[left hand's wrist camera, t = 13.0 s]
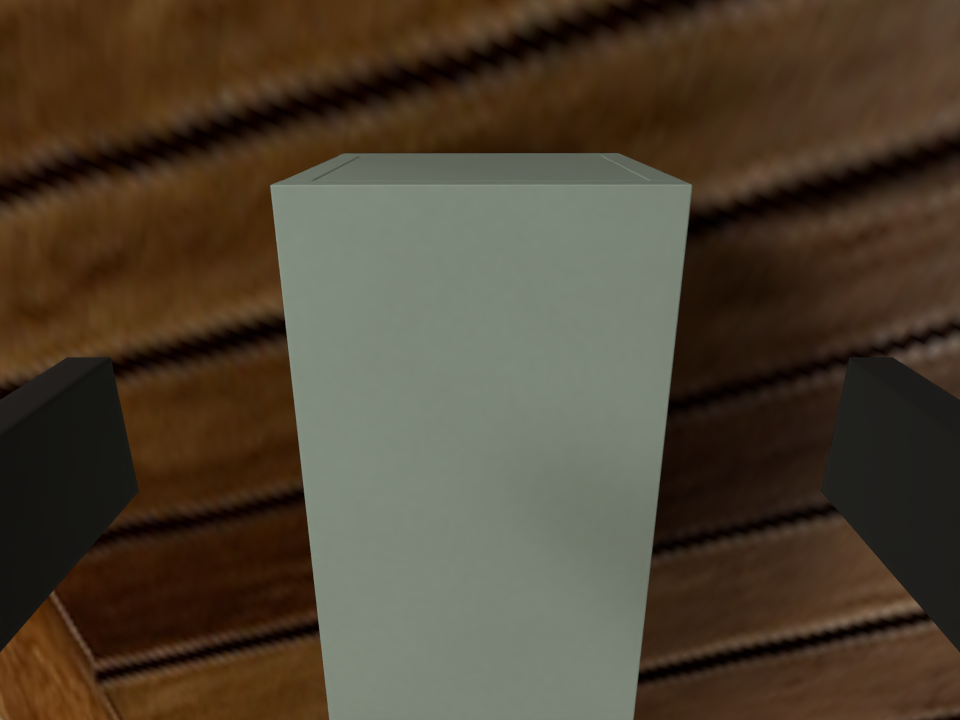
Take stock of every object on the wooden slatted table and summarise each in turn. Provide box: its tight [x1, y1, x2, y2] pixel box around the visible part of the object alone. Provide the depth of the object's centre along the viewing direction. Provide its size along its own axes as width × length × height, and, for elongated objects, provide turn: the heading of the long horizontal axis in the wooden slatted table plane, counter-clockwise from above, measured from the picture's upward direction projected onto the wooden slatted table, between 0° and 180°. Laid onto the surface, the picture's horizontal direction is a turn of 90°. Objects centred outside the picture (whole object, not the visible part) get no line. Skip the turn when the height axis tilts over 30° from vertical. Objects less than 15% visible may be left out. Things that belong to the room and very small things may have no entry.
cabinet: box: [271, 153, 692, 720], centre depth 27 cm, size 21×11×10 cm, turn 0°
